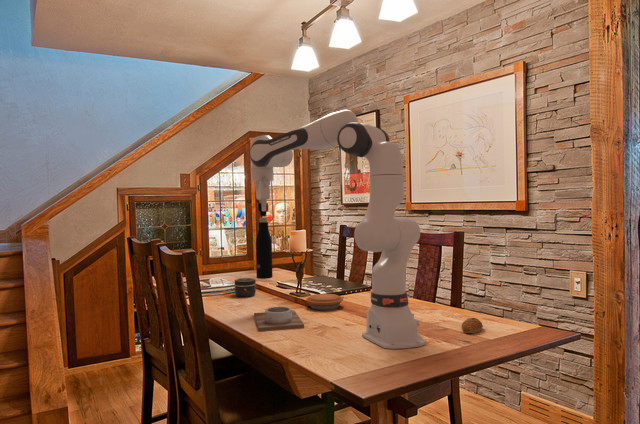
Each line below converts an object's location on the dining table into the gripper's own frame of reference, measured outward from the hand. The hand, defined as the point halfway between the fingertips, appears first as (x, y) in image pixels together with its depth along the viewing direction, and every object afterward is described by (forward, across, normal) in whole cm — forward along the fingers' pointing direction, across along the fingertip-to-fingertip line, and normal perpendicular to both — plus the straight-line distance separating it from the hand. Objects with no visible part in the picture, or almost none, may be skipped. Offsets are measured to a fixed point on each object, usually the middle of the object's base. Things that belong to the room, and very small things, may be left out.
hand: (263, 211), depth 193 cm
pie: (+41, +2, -25) cm, 48 cm away
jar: (+41, +36, +6) cm, 55 cm away
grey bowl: (+40, -19, -3) cm, 44 cm away
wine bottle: (+27, 0, 0) cm, 27 cm away
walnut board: (+41, -16, -3) cm, 44 cm away
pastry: (+42, -46, -66) cm, 90 cm away
